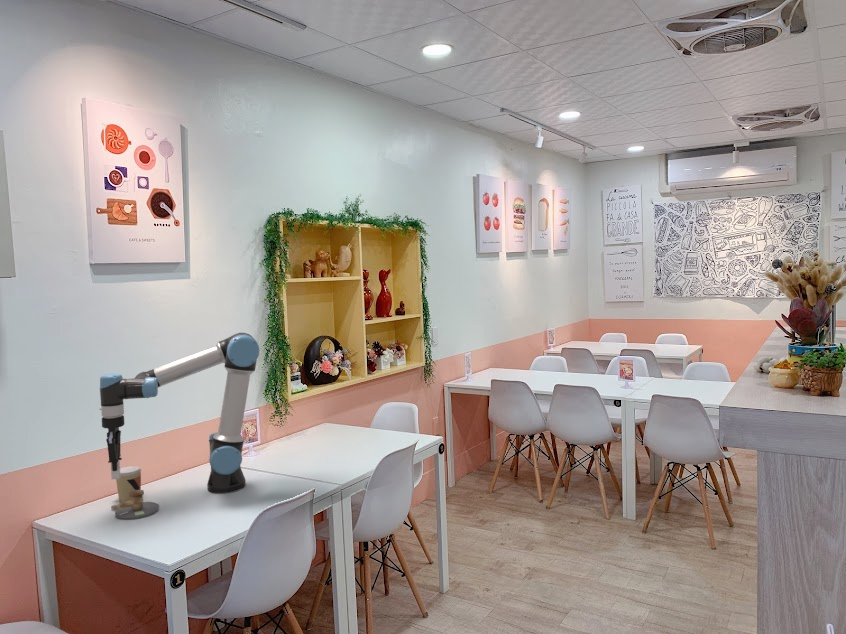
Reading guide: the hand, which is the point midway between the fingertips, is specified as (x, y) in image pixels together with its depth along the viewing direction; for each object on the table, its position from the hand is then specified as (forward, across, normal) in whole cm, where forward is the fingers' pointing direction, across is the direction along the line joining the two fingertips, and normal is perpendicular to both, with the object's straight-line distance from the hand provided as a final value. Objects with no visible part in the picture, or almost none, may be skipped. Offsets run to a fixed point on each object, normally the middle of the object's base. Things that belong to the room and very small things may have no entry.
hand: (116, 478), depth 241 cm
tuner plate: (+13, +2, +7) cm, 15 cm away
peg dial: (+11, +4, +5) cm, 13 cm away
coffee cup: (+13, -14, +2) cm, 19 cm away
